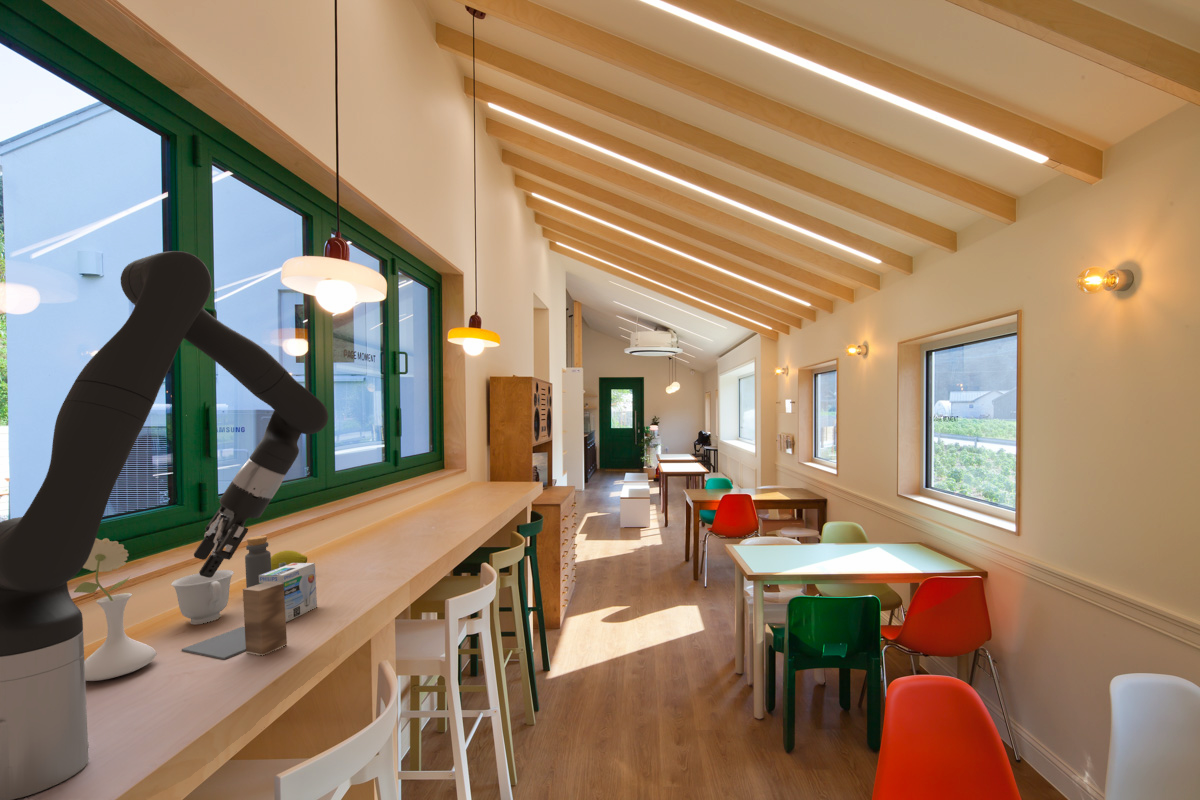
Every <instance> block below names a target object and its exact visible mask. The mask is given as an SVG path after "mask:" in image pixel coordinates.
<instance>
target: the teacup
mask: <svg viewBox="0 0 1200 800" xmlns="http://www.w3.org/2000/svg"><path fill="white" fill-rule="evenodd" d="M234 574H235V572H234V571H233V570H231V569H217V571H216V572H215V574H214V575H213V576H212V577H211V578H208V577H204V576H201V575H200V573H199V572H198V573H194V574H190V575H189V574H188V575H186V576H182V577H179V578H177V579H175V580H173V581H172V582H171V584H170V585H171V586H172V587H173V588H174V589H175V594H176V597H177V602H178V607H179V610H180V613H181V615H182V616H184V617H185V618H188V619H190V622H189V623H190V624H191V625H203V623H204V624H208V623H211V622H214V621H216V619H217V620H219V617H220V618H221V615H220V613H221V612H222V611H223V610H224V609H226V607H227V606H228V603H229V599H230V588H231V579H232V576H233V575H234ZM213 620H214V621H213ZM210 621H211V622H210ZM207 622H208V623H207Z"/></svg>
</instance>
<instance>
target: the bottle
mask: <svg viewBox="0 0 1200 800" xmlns="http://www.w3.org/2000/svg"><path fill="white" fill-rule="evenodd" d="M267 539H268V536H267V535H256V536H252V537H248V538H246V543H247V545H246V547H245V549H246V550H247V551H248V553H247V554H246V555H245V556H244V562H245V563H244V565H245V583H246V584H245V585H246V586H245V587H246V588H248V587H252V586H255V585H258V584H259V575H262V574H264V573H267V572H270V571H271V557H272V555H271V552H270V550H267V548H268V547H269V542H267Z"/></svg>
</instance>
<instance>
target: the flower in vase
mask: <svg viewBox="0 0 1200 800" xmlns="http://www.w3.org/2000/svg"><path fill="white" fill-rule="evenodd" d="M124 547H125V545H124V544H123V543H121V544H119V541H117V540H114V541H112V540H111V541H110V539H109V538H107V537H106V538H103V539H100V538H97V537H96V539H95V542H94V545H93V548H92V551H91V553H90V555H89V558H88V560H87V561H86V563H85V564H84V566H83V567H82V569H86V570H89V571H92V572H94V571H95V582H87V581H83V582H81V583H80V584H78V586H77V587H76V588H75V590H74V591H73V593H82V594H83V593H87V594H93V593H95V592H96V591H97V589H98V588H99V589H100V590H101V591H102V592H103V593H104V594H105V595H106V596H105V597H102V598H99V599H97V600H96V603H97V604H98V605H99V606H100V607H101V609H102V610H103V612H104V615H105V618H106V624H107V635H106V639H105V640H104V642H103V643H102V644H101V645H100V646H99V647H98V648H97V649H96V650H95V651H93V653H91V655H89V656H88V657H87V658H86V659H84V662H85V682H87V681H89V682H95V681H104V680H110V679H113V678H116V677H117V678H118V677H120V676H125V675H127V674H131V673H133V672H136V671H137V670H140V669H142V668H143V667H145V666H147V665H148V664H150V663H152V661H154V659H155V658H156V656H157V651H156V650H155V648H154V647H152V646H150V645H149V644H146V643H144V642H141V641H138V640H135V639H133V638H130V637H129V636H128V635H127V634H126V632H125V627H124V615H125V609H126V605H127V603H128V601H129V599H130V598H131V597H132V595H133V594H132V593H129V592H128V593H119V594H114V595H110V593H109V592H111V591H113V590H115V589H118V588H119V587H122V586H123V585H124V584H125V583H126V582H127V581H128V580H129V578H130V576H131V575H129V576H128V577H127V578H125V579H123V580H121V581H118V582H117V583H115V584H114V585H113V586H111V587H110V588H109V589H108V591H107V590H106V589H105V588H104V587H103V586H102V585H101V584H100V582H99V572H100V573H104V572H105V573H106V572H112V571H113V570H117V569H120V567H123V566H125V565H126V564H127V562H126V561H128V557H129V555H130V554H129V553H128V552H129V550H127V549H125V548H124Z"/></svg>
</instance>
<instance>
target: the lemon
mask: <svg viewBox="0 0 1200 800" xmlns="http://www.w3.org/2000/svg"><path fill="white" fill-rule="evenodd" d="M291 563H308V556H306V555H304V554H302V553H300V552H298V551H295V550H282V551H279V552H276V553H275V554H273V555H271V571H272V570H275V569H278V568H281V567H283V566H286V565H289V564H291Z"/></svg>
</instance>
